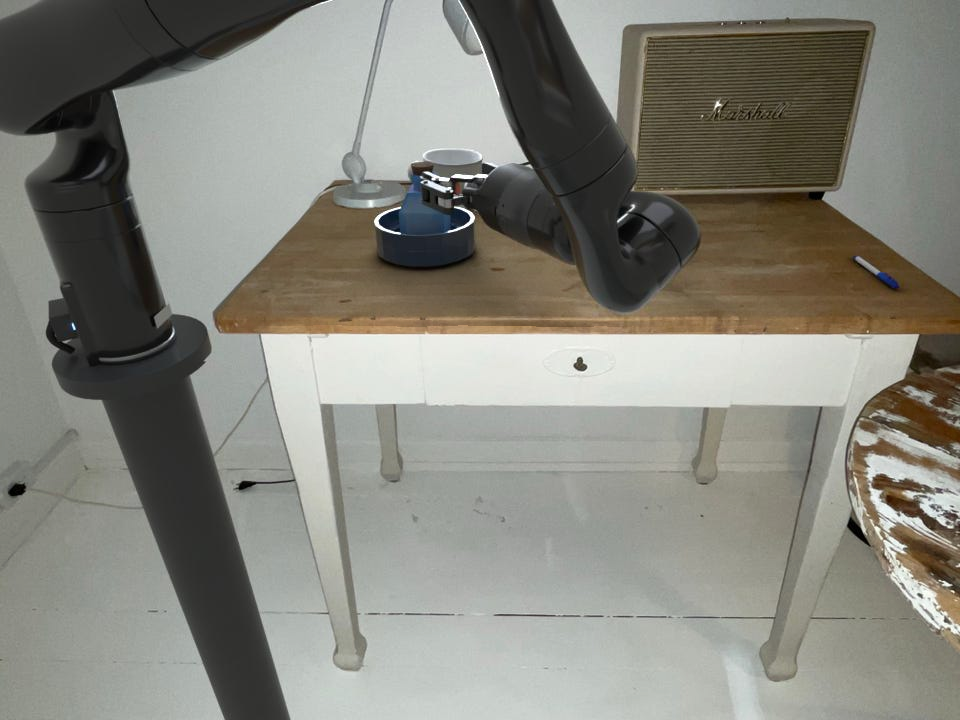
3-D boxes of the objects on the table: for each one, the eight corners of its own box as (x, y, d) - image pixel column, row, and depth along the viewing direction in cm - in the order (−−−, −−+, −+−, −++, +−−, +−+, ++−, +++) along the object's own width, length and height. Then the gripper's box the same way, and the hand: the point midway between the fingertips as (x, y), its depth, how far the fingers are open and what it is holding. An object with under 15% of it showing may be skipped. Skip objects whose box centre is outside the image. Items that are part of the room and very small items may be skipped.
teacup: (473, 188, 121) (472, 145, 117) (491, 203, 112) (491, 157, 108) (402, 196, 118) (398, 152, 114) (415, 212, 109) (412, 165, 105)
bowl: (403, 278, 84) (400, 242, 81) (362, 247, 94) (359, 214, 92) (493, 257, 90) (493, 223, 87) (446, 230, 100) (445, 198, 98)
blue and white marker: (900, 290, 78) (903, 282, 77) (893, 290, 78) (896, 282, 77) (855, 258, 87) (857, 252, 86) (849, 259, 87) (851, 252, 86)
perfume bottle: (451, 241, 94) (448, 159, 88) (445, 256, 89) (441, 170, 83) (410, 240, 95) (404, 158, 89) (402, 255, 89) (395, 169, 83)
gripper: (584, 161, 68) (502, 137, 80) (470, 181, 61) (400, 151, 74) (580, 229, 72) (502, 196, 84) (471, 254, 65) (405, 214, 77)
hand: (454, 175), depth 79 cm, fingers open, 8 cm apart
